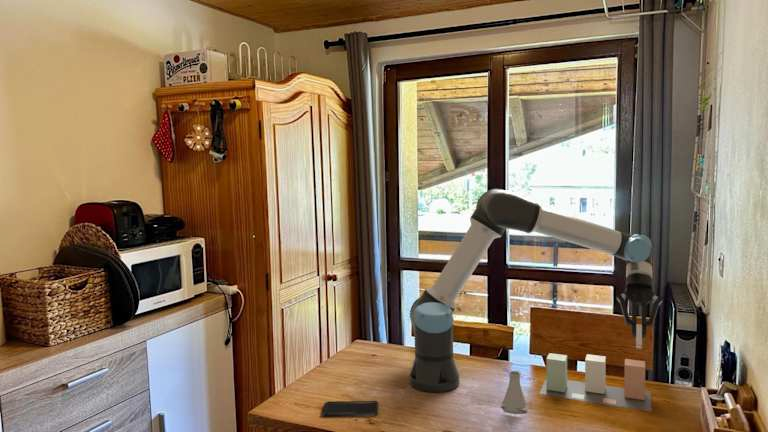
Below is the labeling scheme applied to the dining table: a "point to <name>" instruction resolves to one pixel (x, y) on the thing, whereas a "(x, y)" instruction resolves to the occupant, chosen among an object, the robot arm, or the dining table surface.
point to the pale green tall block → (556, 372)
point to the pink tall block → (634, 379)
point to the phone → (350, 409)
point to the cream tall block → (595, 373)
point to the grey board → (600, 396)
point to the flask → (514, 395)
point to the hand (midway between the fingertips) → (639, 346)
